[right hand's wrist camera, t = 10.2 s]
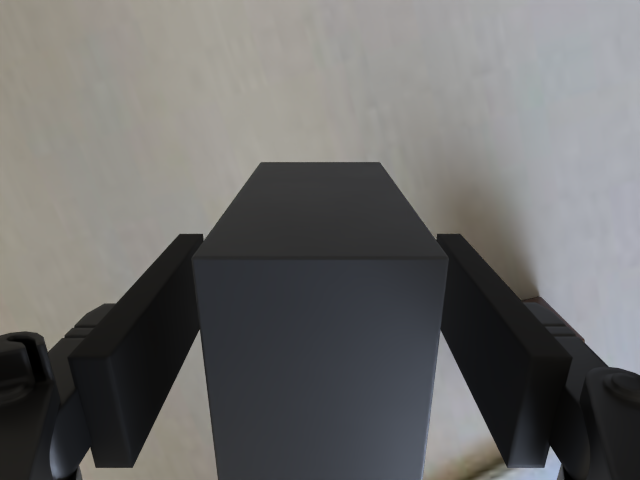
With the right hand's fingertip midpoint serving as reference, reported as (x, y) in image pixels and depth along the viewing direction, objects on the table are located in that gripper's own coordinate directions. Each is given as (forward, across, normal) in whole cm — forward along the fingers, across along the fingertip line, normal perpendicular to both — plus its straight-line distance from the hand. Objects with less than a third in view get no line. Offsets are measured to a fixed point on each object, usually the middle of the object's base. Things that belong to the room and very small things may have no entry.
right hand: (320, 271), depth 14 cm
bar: (+1, 0, -8) cm, 9 cm away
